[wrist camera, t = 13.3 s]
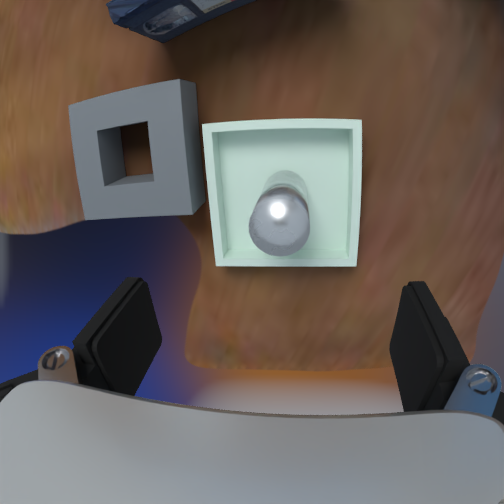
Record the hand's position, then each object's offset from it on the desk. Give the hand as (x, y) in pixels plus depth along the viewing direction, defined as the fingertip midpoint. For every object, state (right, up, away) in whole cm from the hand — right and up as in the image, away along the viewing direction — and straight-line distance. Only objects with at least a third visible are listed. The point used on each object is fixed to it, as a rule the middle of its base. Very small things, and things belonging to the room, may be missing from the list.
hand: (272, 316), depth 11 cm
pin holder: (-12, +13, +19) cm, 26 cm away
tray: (+2, +8, +19) cm, 21 cm away
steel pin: (+2, +8, +19) cm, 20 cm away
